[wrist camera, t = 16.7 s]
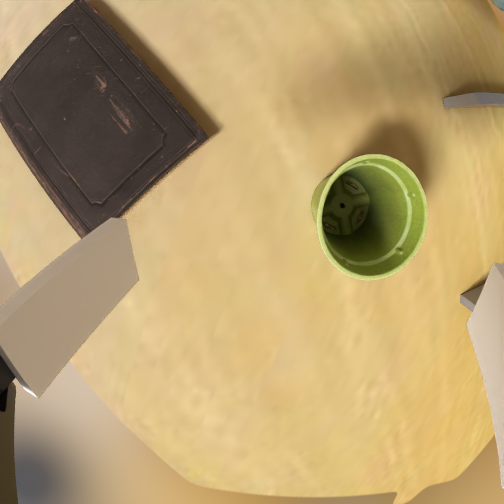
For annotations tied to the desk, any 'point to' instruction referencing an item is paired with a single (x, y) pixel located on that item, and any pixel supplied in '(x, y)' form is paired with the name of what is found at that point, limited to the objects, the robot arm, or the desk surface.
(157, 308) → the desk surface
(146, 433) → the desk surface
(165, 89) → the hardcover book
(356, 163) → the plant pot
